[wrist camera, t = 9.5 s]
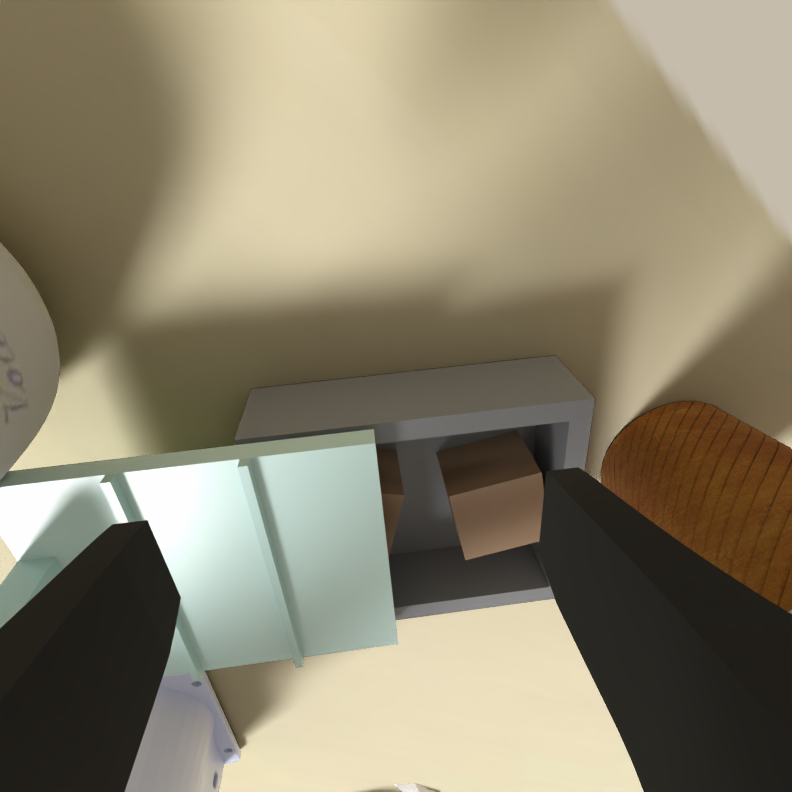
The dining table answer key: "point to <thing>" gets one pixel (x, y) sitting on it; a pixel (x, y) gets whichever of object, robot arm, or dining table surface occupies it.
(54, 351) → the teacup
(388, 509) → the walnut block
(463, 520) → the walnut block
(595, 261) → the dining table surface
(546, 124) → the dining table surface
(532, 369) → the tub
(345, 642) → the lid
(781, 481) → the disposable coffee cup
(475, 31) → the dining table surface
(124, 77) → the dining table surface
